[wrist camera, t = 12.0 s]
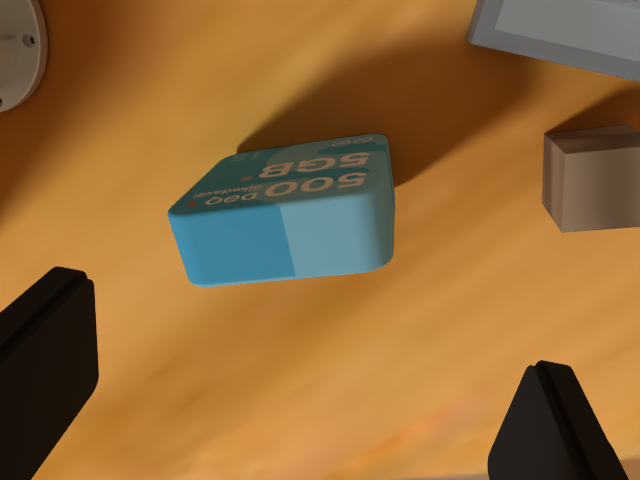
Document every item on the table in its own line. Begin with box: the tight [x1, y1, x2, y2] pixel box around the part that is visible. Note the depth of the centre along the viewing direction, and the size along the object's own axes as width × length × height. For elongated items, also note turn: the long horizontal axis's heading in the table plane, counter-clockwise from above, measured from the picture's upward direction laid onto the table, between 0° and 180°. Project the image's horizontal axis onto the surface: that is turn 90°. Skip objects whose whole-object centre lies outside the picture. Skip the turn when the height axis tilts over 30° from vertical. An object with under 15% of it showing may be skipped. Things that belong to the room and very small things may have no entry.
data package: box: [168, 134, 395, 287], centre depth 32 cm, size 12×4×12 cm, turn 101°
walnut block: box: [542, 124, 640, 233], centre depth 32 cm, size 5×5×5 cm
